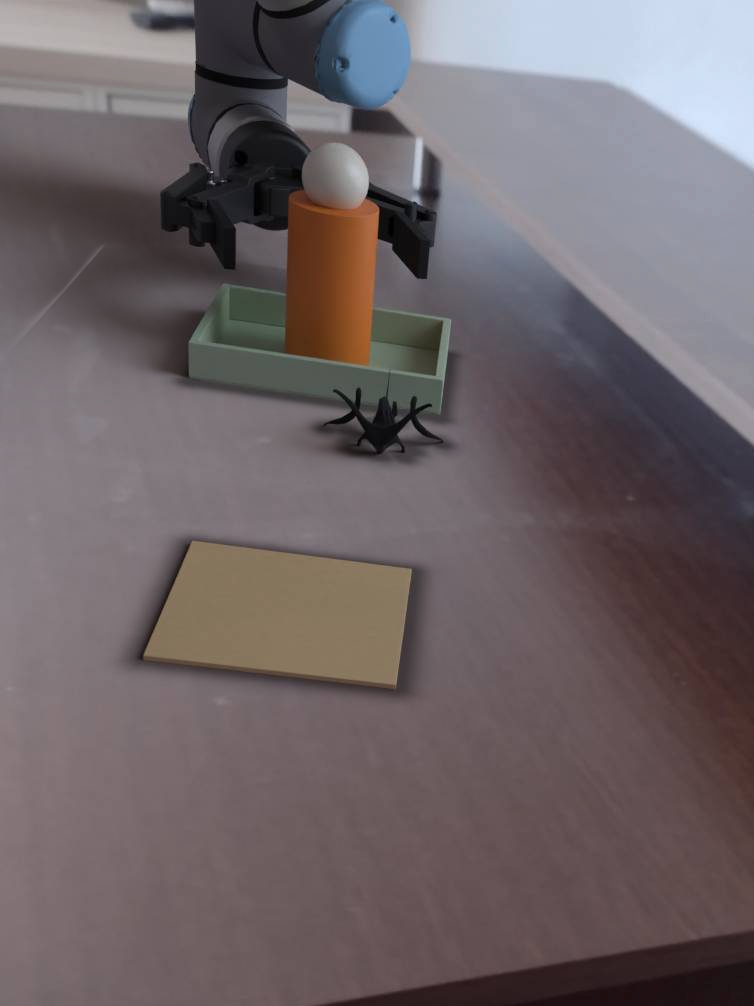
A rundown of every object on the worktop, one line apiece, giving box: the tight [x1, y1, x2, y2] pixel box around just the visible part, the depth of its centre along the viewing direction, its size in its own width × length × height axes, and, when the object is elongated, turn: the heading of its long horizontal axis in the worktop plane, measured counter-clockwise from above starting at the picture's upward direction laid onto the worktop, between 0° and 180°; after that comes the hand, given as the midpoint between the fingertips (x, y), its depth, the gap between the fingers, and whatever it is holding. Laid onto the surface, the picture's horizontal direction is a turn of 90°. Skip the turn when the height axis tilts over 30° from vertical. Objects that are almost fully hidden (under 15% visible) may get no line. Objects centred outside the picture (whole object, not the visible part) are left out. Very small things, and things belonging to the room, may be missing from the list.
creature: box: [324, 372, 444, 455], centre depth 86 cm, size 8×5×8 cm
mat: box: [142, 540, 413, 690], centre depth 69 cm, size 12×12×1 cm
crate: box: [187, 283, 452, 415], centre depth 95 cm, size 17×13×3 cm
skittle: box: [285, 141, 379, 366], centre depth 92 cm, size 6×6×15 cm
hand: (330, 254), depth 92 cm, fingers open, 13 cm apart
